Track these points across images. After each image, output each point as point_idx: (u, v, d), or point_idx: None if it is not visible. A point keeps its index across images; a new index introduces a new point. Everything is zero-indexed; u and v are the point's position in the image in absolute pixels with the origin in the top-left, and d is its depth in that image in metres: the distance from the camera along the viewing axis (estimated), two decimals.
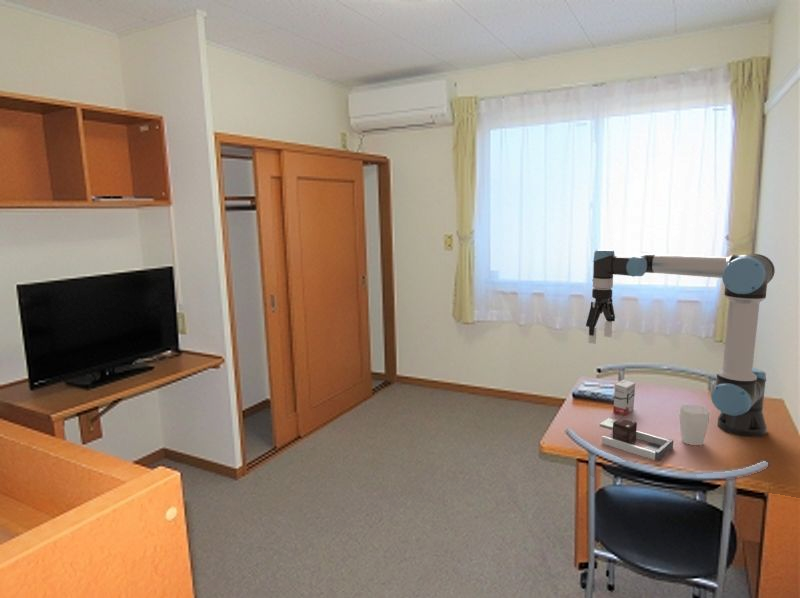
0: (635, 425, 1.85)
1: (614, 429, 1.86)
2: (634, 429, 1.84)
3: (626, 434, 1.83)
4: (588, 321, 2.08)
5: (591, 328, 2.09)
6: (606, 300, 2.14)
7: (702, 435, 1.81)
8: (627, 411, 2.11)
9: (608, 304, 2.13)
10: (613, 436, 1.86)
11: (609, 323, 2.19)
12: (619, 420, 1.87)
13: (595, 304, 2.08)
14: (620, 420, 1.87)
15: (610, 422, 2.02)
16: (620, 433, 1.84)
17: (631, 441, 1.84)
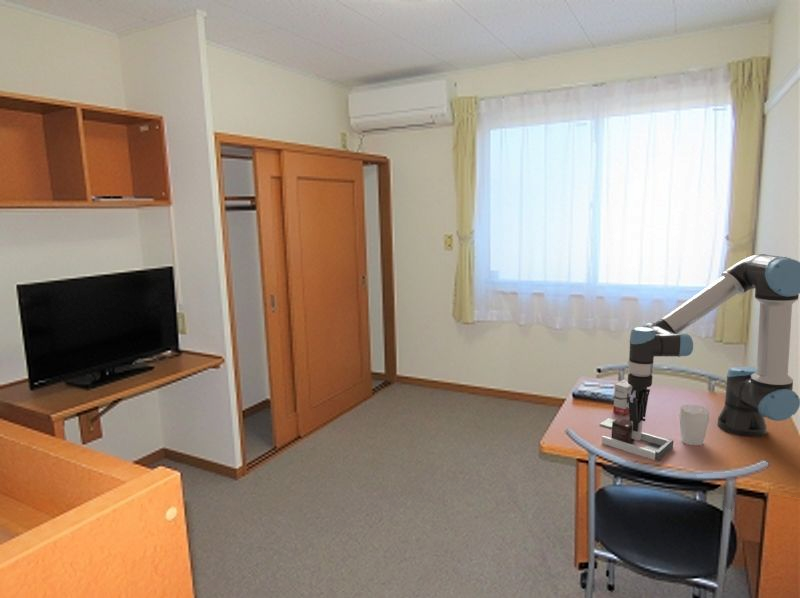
0: None
1: (613, 429, 1.86)
2: None
3: (625, 433, 1.83)
4: (631, 417, 1.79)
5: (635, 423, 1.81)
6: None
7: (702, 435, 1.81)
8: (627, 411, 2.11)
9: (646, 393, 1.80)
10: (612, 436, 1.86)
11: None
12: (618, 420, 1.87)
13: (633, 401, 1.76)
14: (619, 420, 1.87)
15: (610, 422, 2.02)
16: (620, 433, 1.84)
17: (630, 441, 1.84)
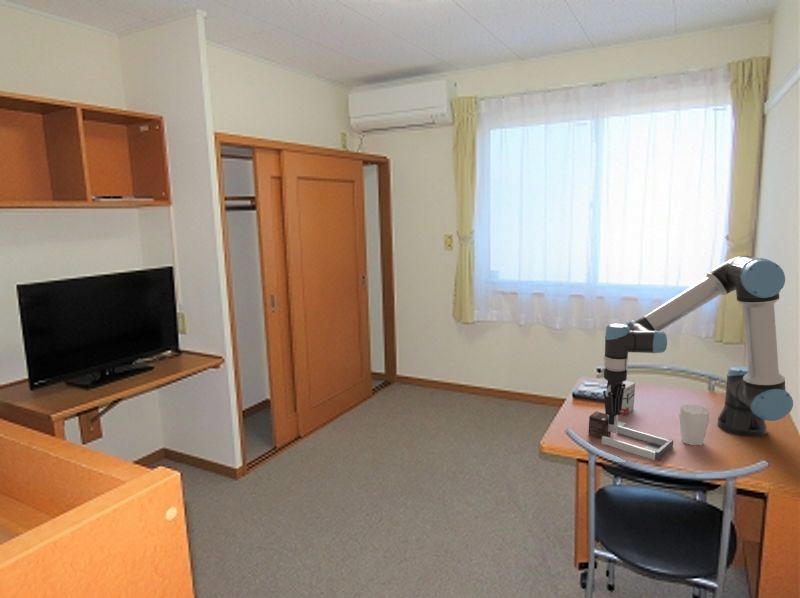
0: None
1: (590, 422, 1.91)
2: None
3: (602, 427, 1.88)
4: (607, 411, 1.86)
5: (611, 416, 1.87)
6: None
7: (702, 435, 1.81)
8: (627, 411, 2.11)
9: (622, 387, 1.86)
10: (589, 429, 1.92)
11: None
12: (595, 414, 1.93)
13: (608, 395, 1.82)
14: (596, 414, 1.93)
15: None
16: (596, 426, 1.90)
17: (607, 434, 1.90)
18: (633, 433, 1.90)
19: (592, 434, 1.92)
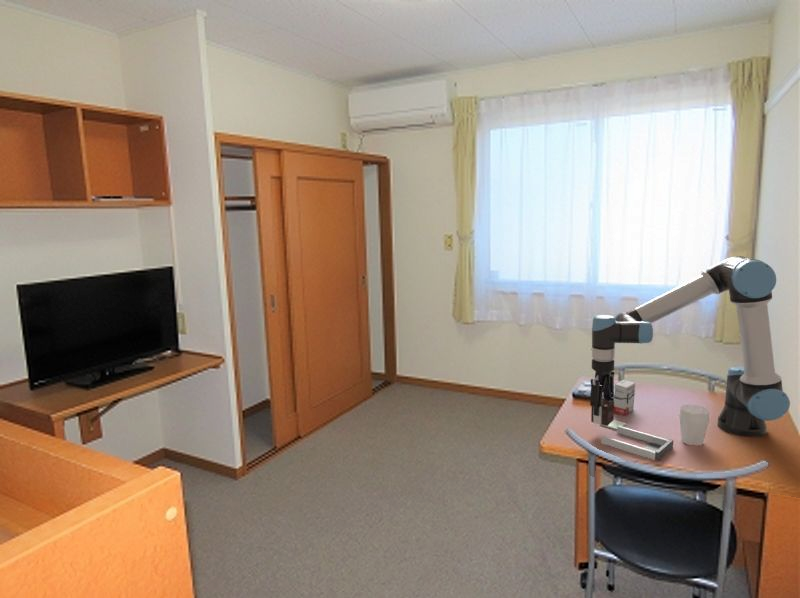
0: (612, 404, 1.90)
1: (593, 409, 1.91)
2: (612, 408, 1.90)
3: (605, 413, 1.88)
4: (592, 401, 1.86)
5: (596, 408, 1.87)
6: None
7: (702, 435, 1.81)
8: (627, 411, 2.11)
9: (610, 377, 1.89)
10: (592, 416, 1.91)
11: None
12: None
13: (595, 382, 1.84)
14: None
15: None
16: None
17: (610, 420, 1.89)
18: (633, 433, 1.90)
19: None
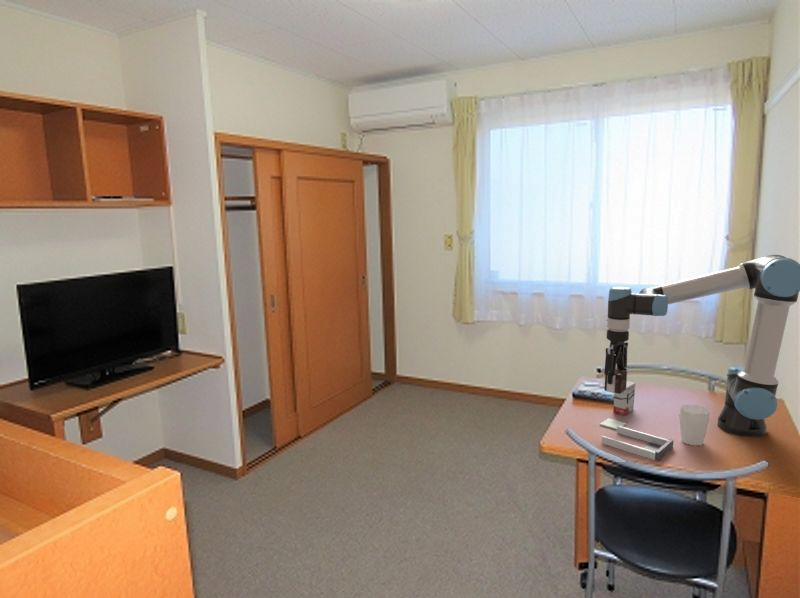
0: (625, 374, 1.96)
1: (606, 378, 1.97)
2: (625, 377, 1.96)
3: (618, 382, 1.94)
4: (606, 369, 1.92)
5: (610, 376, 1.93)
6: None
7: (702, 435, 1.81)
8: (627, 411, 2.11)
9: (624, 347, 1.95)
10: (605, 385, 1.97)
11: None
12: None
13: (610, 351, 1.90)
14: None
15: (610, 422, 2.02)
16: None
17: (622, 389, 1.95)
18: (633, 433, 1.90)
19: None
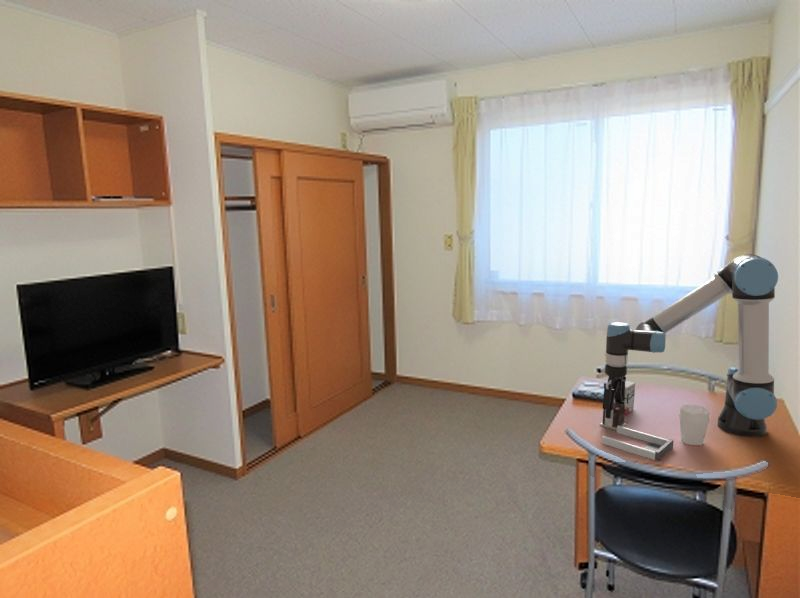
0: (623, 407, 1.99)
1: (604, 412, 1.99)
2: (622, 411, 1.98)
3: (616, 416, 1.96)
4: (604, 404, 1.95)
5: (608, 411, 1.96)
6: None
7: (702, 435, 1.81)
8: (627, 411, 2.11)
9: (622, 381, 1.97)
10: (603, 418, 2.00)
11: None
12: None
13: (608, 387, 1.93)
14: None
15: None
16: None
17: (620, 422, 1.98)
18: (633, 433, 1.90)
19: None
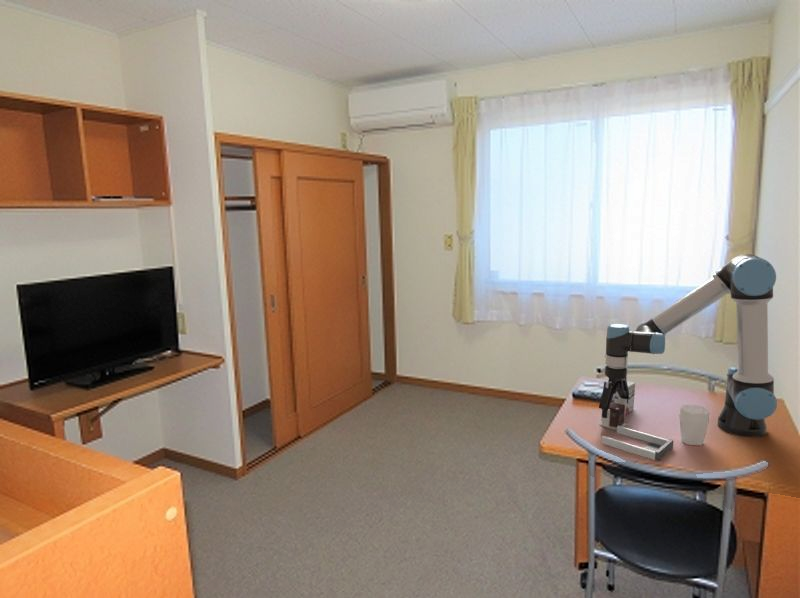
0: (623, 407, 1.99)
1: None
2: (622, 411, 1.98)
3: (616, 416, 1.96)
4: (601, 403, 1.93)
5: (604, 410, 1.93)
6: (620, 378, 1.98)
7: (702, 435, 1.81)
8: (627, 411, 2.11)
9: (622, 382, 1.98)
10: None
11: (623, 401, 2.03)
12: None
13: (609, 385, 1.92)
14: (610, 404, 2.01)
15: None
16: (610, 415, 1.98)
17: (620, 422, 1.98)
18: (633, 433, 1.90)
19: None
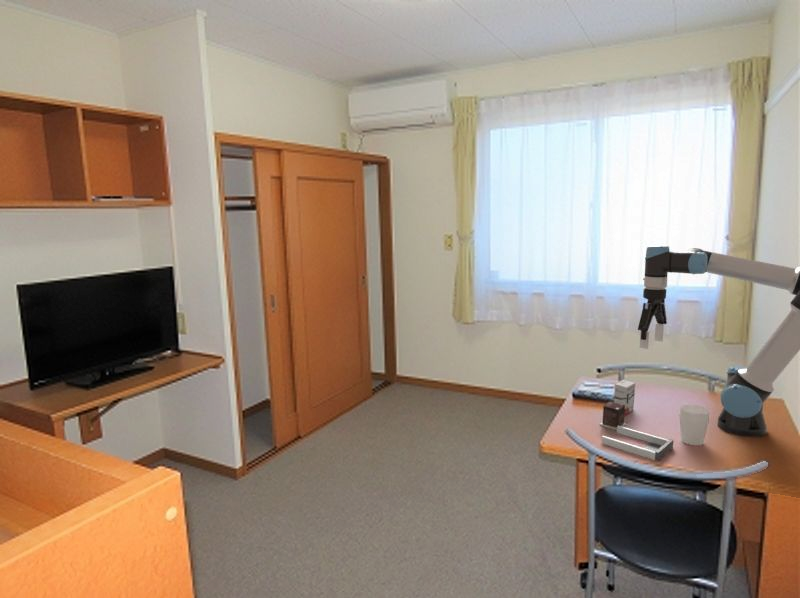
0: (623, 407, 1.99)
1: (604, 412, 1.99)
2: (622, 411, 1.98)
3: (616, 416, 1.96)
4: (640, 324, 1.89)
5: (643, 332, 1.90)
6: (659, 301, 1.94)
7: (702, 435, 1.81)
8: (627, 411, 2.11)
9: (661, 305, 1.94)
10: (603, 418, 2.00)
11: (660, 326, 2.00)
12: (608, 403, 2.01)
13: (648, 305, 1.89)
14: (610, 404, 2.01)
15: None
16: (610, 415, 1.98)
17: (620, 422, 1.98)
18: (633, 433, 1.90)
19: (606, 423, 1.99)
